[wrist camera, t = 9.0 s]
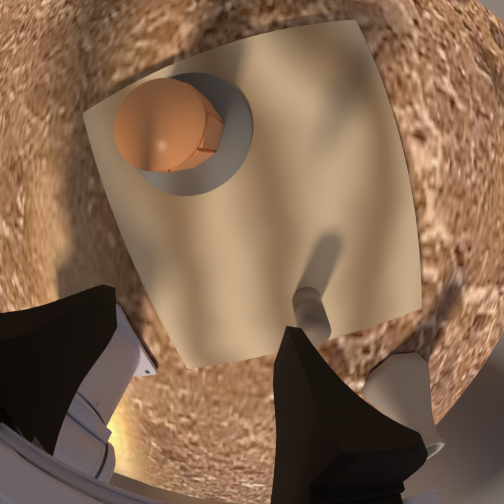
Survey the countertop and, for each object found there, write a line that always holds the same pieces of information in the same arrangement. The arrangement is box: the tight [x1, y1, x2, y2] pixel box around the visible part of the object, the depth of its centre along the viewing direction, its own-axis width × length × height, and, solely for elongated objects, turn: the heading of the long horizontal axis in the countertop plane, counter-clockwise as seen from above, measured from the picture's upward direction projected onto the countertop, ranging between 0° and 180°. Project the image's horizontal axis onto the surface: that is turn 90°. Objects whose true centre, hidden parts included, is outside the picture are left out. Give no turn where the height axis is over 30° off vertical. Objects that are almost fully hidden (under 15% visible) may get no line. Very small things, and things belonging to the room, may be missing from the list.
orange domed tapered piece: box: [114, 78, 224, 173], centre depth 13 cm, size 4×4×5 cm
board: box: [82, 20, 422, 369], centre depth 16 cm, size 20×22×6 cm
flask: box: [362, 352, 445, 460], centre depth 19 cm, size 7×7×10 cm
